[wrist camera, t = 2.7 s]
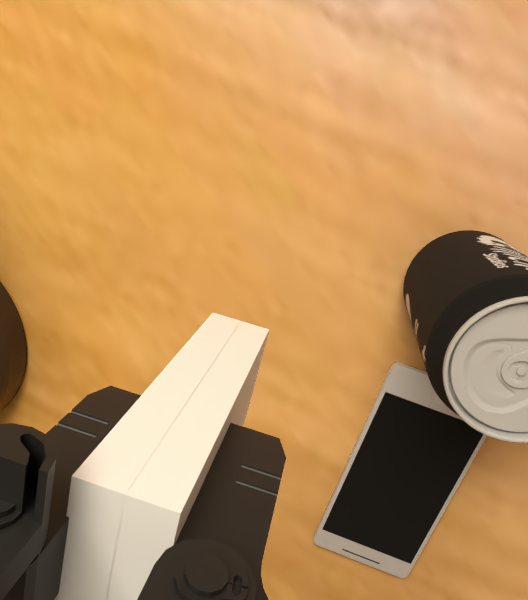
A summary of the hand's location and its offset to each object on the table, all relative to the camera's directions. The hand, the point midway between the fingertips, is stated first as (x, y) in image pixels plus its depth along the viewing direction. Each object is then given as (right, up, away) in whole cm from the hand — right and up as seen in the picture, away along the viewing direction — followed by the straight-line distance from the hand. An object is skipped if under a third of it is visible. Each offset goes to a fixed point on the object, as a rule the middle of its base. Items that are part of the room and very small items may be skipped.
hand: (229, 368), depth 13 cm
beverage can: (+12, +3, +16) cm, 21 cm away
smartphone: (+10, -10, +21) cm, 26 cm away
